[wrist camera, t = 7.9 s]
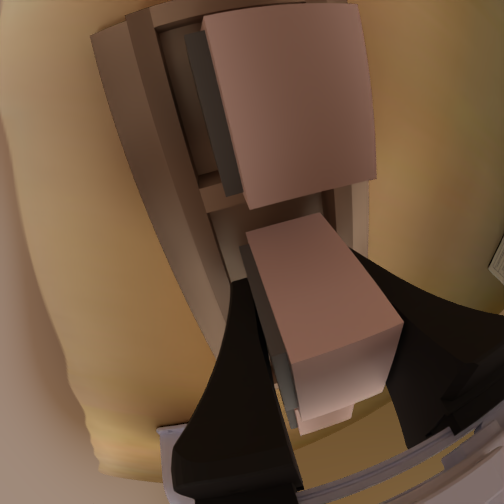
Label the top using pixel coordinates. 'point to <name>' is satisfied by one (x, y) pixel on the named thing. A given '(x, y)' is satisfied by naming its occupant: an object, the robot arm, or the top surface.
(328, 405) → the rose block
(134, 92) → the walnut rack
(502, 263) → the skincare box
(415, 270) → the top surface
